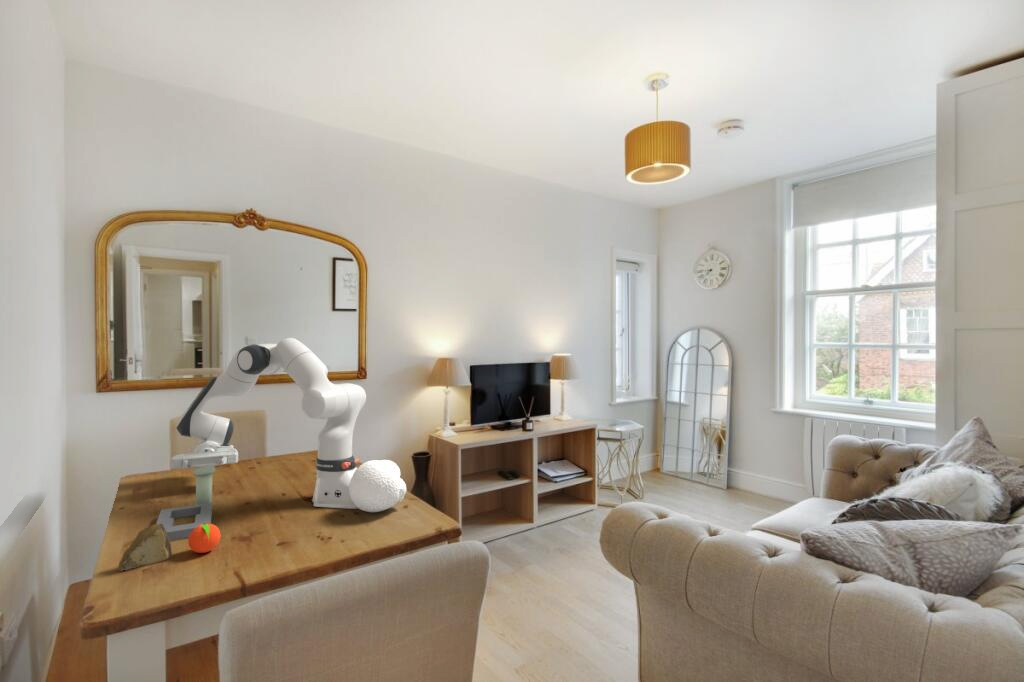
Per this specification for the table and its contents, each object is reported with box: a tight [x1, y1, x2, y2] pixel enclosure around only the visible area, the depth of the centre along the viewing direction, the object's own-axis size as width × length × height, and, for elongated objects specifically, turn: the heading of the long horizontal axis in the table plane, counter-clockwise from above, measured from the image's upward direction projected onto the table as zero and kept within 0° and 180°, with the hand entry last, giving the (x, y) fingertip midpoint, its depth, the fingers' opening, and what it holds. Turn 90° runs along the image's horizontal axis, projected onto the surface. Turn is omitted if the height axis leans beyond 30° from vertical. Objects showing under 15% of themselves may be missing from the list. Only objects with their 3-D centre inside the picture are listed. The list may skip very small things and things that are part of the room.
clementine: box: [187, 523, 222, 554], centre depth 120 cm, size 8×7×7 cm
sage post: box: [193, 466, 216, 505], centre depth 153 cm, size 6×6×12 cm
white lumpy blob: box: [349, 459, 407, 513], centre depth 152 cm, size 20×18×16 cm
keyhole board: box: [155, 502, 213, 542], centre depth 138 cm, size 22×13×2 cm, turn 31°
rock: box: [118, 523, 173, 572], centre depth 115 cm, size 10×8×10 cm
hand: (204, 464), depth 164 cm, fingers open, 8 cm apart
